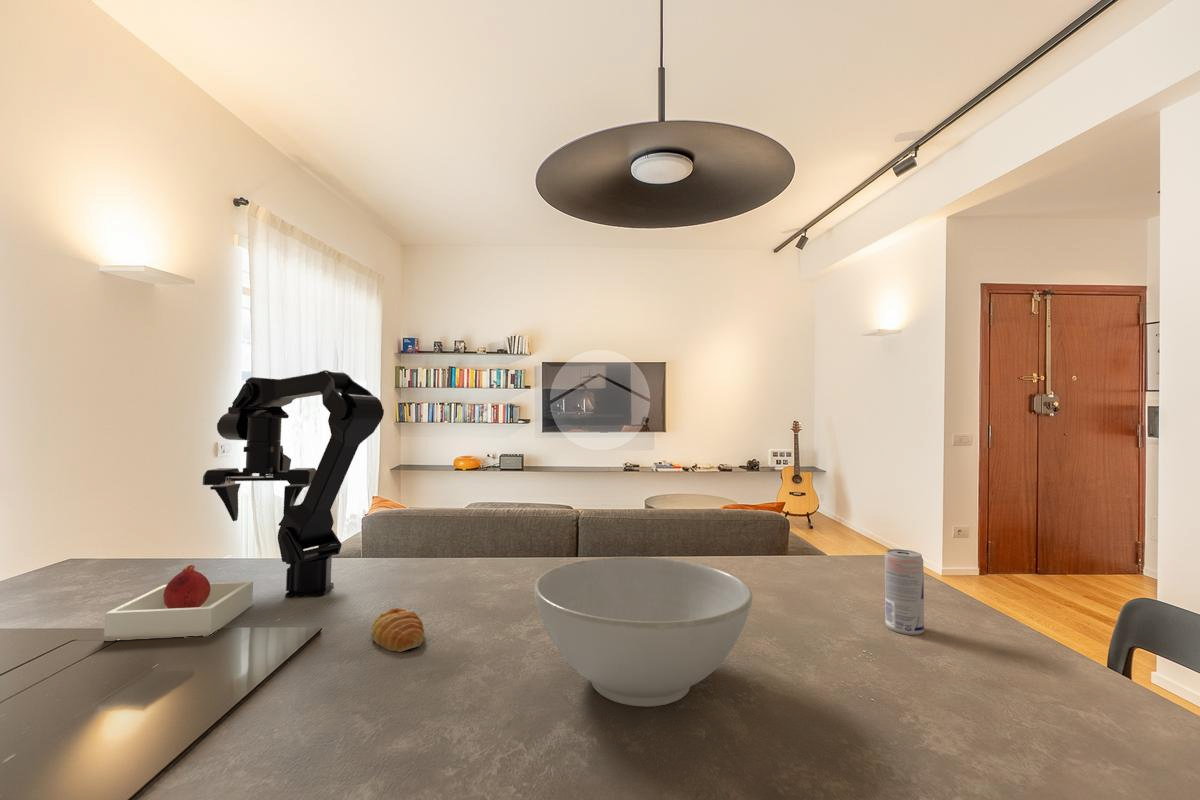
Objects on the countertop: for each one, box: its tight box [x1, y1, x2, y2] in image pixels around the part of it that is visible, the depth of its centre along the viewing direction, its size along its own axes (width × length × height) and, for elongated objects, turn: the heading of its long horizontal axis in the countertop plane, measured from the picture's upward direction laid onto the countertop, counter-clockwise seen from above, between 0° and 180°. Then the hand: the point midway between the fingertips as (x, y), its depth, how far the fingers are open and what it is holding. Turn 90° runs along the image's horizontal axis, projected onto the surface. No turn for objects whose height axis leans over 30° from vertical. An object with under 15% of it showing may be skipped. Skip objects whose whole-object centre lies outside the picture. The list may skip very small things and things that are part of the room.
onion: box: [163, 563, 211, 609], centre depth 84 cm, size 6×6×8 cm
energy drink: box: [884, 548, 925, 636], centre depth 85 cm, size 5×5×12 cm
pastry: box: [371, 607, 425, 653], centre depth 78 cm, size 9×7×4 cm
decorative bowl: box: [533, 556, 753, 708], centre depth 67 cm, size 27×27×12 cm
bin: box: [103, 580, 254, 640], centre depth 84 cm, size 14×14×4 cm
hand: (260, 520), depth 105 cm, fingers open, 9 cm apart
